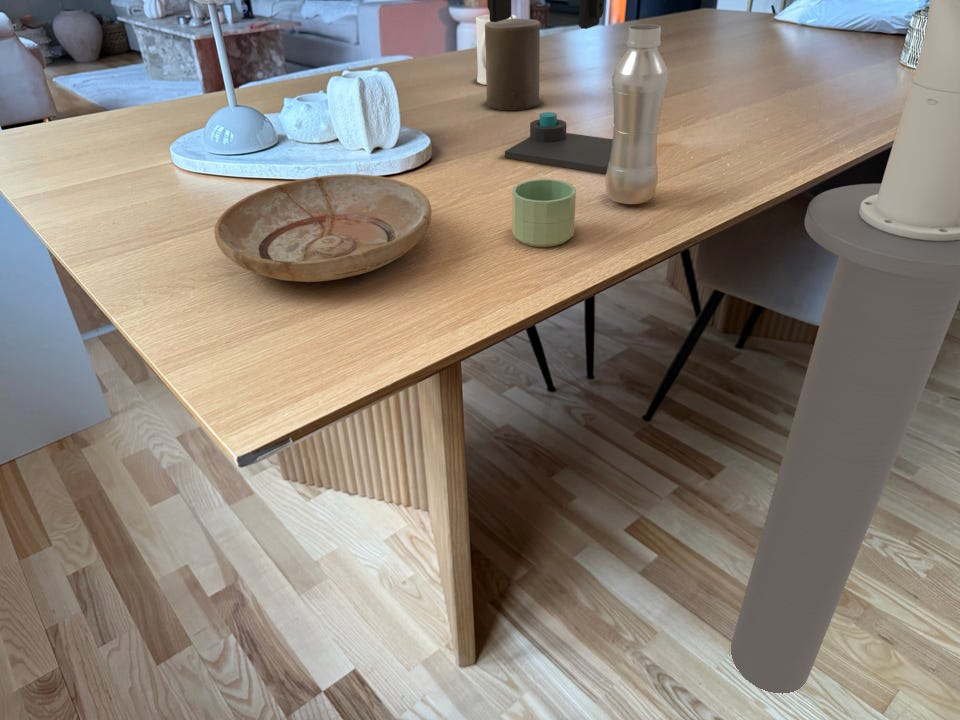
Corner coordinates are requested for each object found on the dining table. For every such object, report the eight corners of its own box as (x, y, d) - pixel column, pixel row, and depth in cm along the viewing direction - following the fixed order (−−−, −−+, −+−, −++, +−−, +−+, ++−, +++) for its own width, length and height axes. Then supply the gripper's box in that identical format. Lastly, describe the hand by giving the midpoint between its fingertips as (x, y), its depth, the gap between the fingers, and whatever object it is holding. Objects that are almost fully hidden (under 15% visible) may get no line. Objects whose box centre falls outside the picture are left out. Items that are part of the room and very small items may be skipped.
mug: (499, 91, 137) (497, 24, 130) (461, 87, 141) (458, 22, 134) (525, 77, 146) (525, 14, 139) (489, 74, 149) (487, 12, 142)
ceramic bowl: (177, 275, 75) (164, 232, 73) (322, 200, 92) (316, 163, 89) (343, 326, 65) (335, 278, 62) (473, 232, 82) (471, 191, 79)
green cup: (584, 230, 81) (586, 184, 78) (556, 253, 76) (558, 206, 73) (531, 219, 84) (531, 175, 81) (501, 241, 79) (500, 195, 76)
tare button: (559, 124, 108) (559, 113, 107) (551, 129, 106) (552, 117, 105) (544, 122, 109) (544, 111, 108) (536, 127, 107) (536, 115, 106)
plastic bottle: (603, 210, 86) (615, 33, 75) (603, 190, 91) (614, 22, 80) (657, 211, 85) (677, 32, 74) (653, 190, 90) (672, 21, 79)
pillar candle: (516, 114, 123) (515, 20, 114) (475, 105, 129) (472, 16, 120) (550, 102, 129) (552, 12, 120) (510, 94, 134) (509, 8, 126)
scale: (637, 149, 105) (639, 129, 103) (604, 174, 96) (606, 152, 95) (541, 135, 112) (541, 116, 110) (503, 157, 104) (503, 137, 102)
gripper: (437, -198, 59) (448, 23, 69) (629, -216, 52) (611, 36, 61) (484, -192, 65) (487, 12, 74) (664, -208, 57) (642, 23, 66)
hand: (543, 23), depth 68 cm, fingers open, 9 cm apart
